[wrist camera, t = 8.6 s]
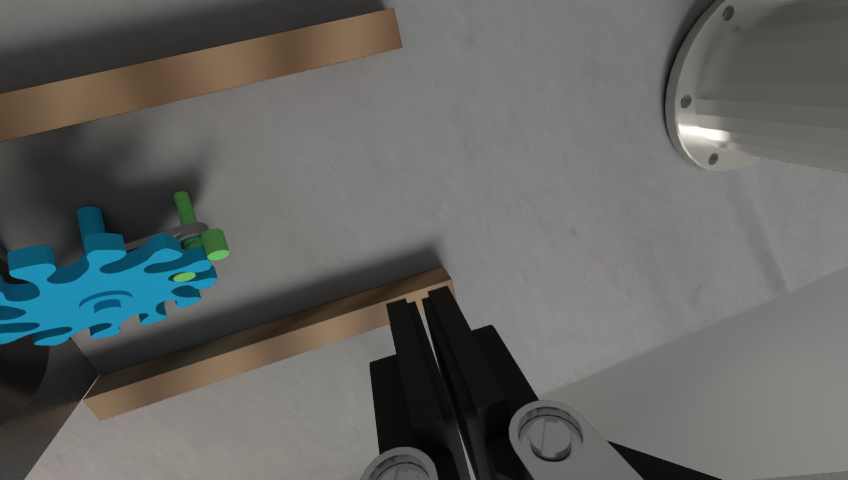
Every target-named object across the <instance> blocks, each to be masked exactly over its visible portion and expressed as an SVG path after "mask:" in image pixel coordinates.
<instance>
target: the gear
mask: <svg viewBox="0 0 848 480" xmlns="http://www.w3.org/2000/svg"><path fill="white" fill-rule="evenodd" d="M173 197H174V200H175V204H176V207H177V211H178V214H179V218H180V222H181V226H178V227H175V228H172V229H169V230H166V231H163V232H160V233H157V234H154V235H151V236H148V237H145V238H142V239H139V240H136V241H133V242H130V243H127V244H124V240H123V236H122V235H120V234H113V233H106V231H105V226H104V221H103V217H102V212H101V209H100V208H98V207H93V206H87V207H82V208H80V209H78V210H77V217H78V223H79V228H80V234H81V239H82V245H83V251H84V255H83V256H82V257H81V258H80V259H79V260H77V261H76V262H75V263H73V264H71V265H68V266H64V267H56V263H55V257H54V251H53V249H52V248H51V247H49V246H35V247H28V248H23V249H19V250H15V251H11V252H8V254H7V256H8V266H9V273H10V275H11V276H12V277H14V278H18V279H23V280H27V281H30V283H26V284H8V283H5V282H4V281H3V278H2V276H1V275H0V344H5V343H9V342H12V341H14V340H16V339H18V338H21V337H23V336H26V335H29V334H33V342H34V344H35V345H58V344H61V343H63V342H65V341H66V340H67V339H68V338H69V337H70V336H71V335H73V334H75V333H77V332H79V331H81V330H83V329H86V328H88V327H89V328H90V334H91V338H102V337H108V336H114V335H117V334H118V333H119V332H120V327H119V325H120V324H121V323H122V322H123V321H124V320H126V319H127V318H129V317H130V316H133V315H136V314H139V318H140V322H141V324H142V325H147V324H151V323H155V322H158V321H161V320H164V319H166V318H167V316H166V311H165V307H164V304H163V303H161V302H164V301H168V300H175V302H176V306H177V307H180V308H183V307H187V306H190V305H192V304H194V303H196V302H198V301H199V300H201V296H200V293H199V289H205V288H209V287H210V286H212V285H213V284H214V283H215V282H216V280H217V279H218V278H217V275H216V271H215V268H214V266H211V264H210V260H220V259H223V258H225V257H227V256H228V255H229V250H228V247H227V243H226V240H225V237H224V234H223V231H222V230H221V229H208V226H207V225H206V224H203V223H198V222H197V221H196V218H195V214H194V211H193V208H192V204H191V201H190V198H189V194H188V193H187V192H185V191H180V192H177V193H175V194H174V195H173ZM182 249H184V250H182Z"/></svg>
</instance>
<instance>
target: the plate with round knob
mask: <svg viewBox="0 0 848 480" xmlns="http://www.w3.org/2000/svg"><path fill="white" fill-rule="evenodd" d="M0 275H1V276H2V278H3V281H4V282H5V283H8V284H26V283H29V282H28V281H27V280H23V279H18V278H14V277H12V276H11V275H10V273H9V266H8V256H7V253H6V252H5V250H4V249H3V248H2V246H1V245H0ZM98 376H99V375H98V374H97V373H96V371H95V370H94V369H93V367H92V366H91V365H90V363H89V362H88V361H87V359H86V358H85V357H84V355H83V354H82V353H81V351H80V350H79V349H78V347H77V346H76V345H75V343H74V342H73V341H72V339H71V338H70V337H69V338H68V339H67V340H66V341H65V342H63V343H61V344H58V345H35V344H34V342H33V334H29V335H26V336H23V337H21V338H18V339H16V340H14V341H12V342H9V343H5V344H0V480H24V479H25V478H26V476H27V475H28V473H29V472H30V471H31V469H32V468H33V466H34V465H35V464H36V462H37V461H38V459H39V458H40V457H41V455H42V454H43V452H44V451H45V450H46V448H47V447H48V445H49V444H50V443H51V441H52V440H53V438H54V437H55V436H56V434H57V433H58V431H59V430H60V429H61V427H62V426H63V424H64V423H65V422H66V420H67V419H68V417H69V416H70V415H71V413H72V412H73V410H74V409H75V408H76V406H77V405H78V403H79V402H80V401H81V399H82V398H83V396H84V395H85V394H86V392H87V391H88V389H89V388H90V387H91V385H92V384H93V383H94V381H95V380H96V378H97V377H98Z"/></svg>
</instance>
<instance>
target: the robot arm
mask: <svg viewBox="0 0 848 480" xmlns="http://www.w3.org/2000/svg"><path fill="white" fill-rule="evenodd" d="M665 112H666V124H667V128H668V132H669V136H670V139H671V141H672V143H673V145H674V147H675V149H676V150H677V152H678V153H679V154H680V155H681V156H682V157H683V158H684V159H685V160H686V161H688V162H689V163H691V164H692V165H694V166H697V167H700V168H704V169H707V170H712V171H719V172H725V171H734V170H737V169H740V168H744V167H747V166H749V165H751V164H753V163H755V162H756V161H758V160H760V159H762V158H767V159H773V160H778V161H783V162H789V163H794V164H800V165H805V166H811V167H816V168H822V169H827V170H832V171H838V172H843V173H848V0H716V1H715V2H714V3H713V4H712V5H711V6H710V7H709V8H708V9H707V10H706V11H705V12H704V13H703V14H702V15H701V16H700V18H699V19H698V21H697V22H696V23H695V25H694V26H693V28H692V29H691V30H690V32H689V33H688V35H687V37H686V39H685V40H684V42H683V44H682V46H681V48H680V50H679V52H678V54H677V57H676V60H675V62H674V65H673V67H672V70H671V74H670V78H669V82H668V87H667V93H666V104H665ZM422 304H423V308H424V312H425V316H426V319H427V323H428V327H429V331H430V335H431V339H432V343H433V347H434V350H435V354H436V358H437V362H438V366H439V368H438V366H437V363H436V360H435V357H434V354H433V351H432V348H431V345H430V342H429V339H428V337H427V334H426V331H425V328H424V325H423V322H422V319H421V316H420V313H419V310H418V307H417V305H416V302H415V301H413V302H410V303H407V300H406V298H404V299H400V300H397V301H393V302H390V303H387V304H386V308H387V312H388V317H389V322H390V326H391V331H392V336H393V340H394V345H395V350H396V354H395V355H392V356H389V357H385V358H382V359H379V360H376V361H373V362H370V374H371V383H372V392H373V401H374V410H375V418H376V427H377V436H378V445H379V453H380V456H378V457H377V458H375V459H374V460H373V461H372V462H371V463H370V465H369V466H368V467H367V468H366V469H365V471H364V473H363V475H362V477H361V479H360V480H471V478H470V474H469V470H468V466H467V462H466V458H465V454H464V450H463V446H462V443H461V439H460V435H459V431H460V434H461V437H462V440H463V443H464V446H465V449H466V451H467V454H468V457H469V460H470V463H471V466H472V469H473V471H474V475H475V478H476V480H722V479H719V478H716V477H713V476H710V475H707V474H704V473H701V472H698V471H695V470H692V469H689V468H686V467H683V466H680V465H678V464H674V463H672V462H669V461H666V460H663V459H660V458H657V457H654V456H651V455H648V454H645V453H642V452H639V451H636V450H633V449H630V448H627V447H625V446H622V445H618V444H616V443H613V442H610V441H607V440H605V439H604V437H603V436H602V435H600V433H599V432H598V431H597V430H596V429H595V428H594V427H593V426H592V425H591V424H590V423H589V422H588V421H587V419H586V418H585V417H584V416H583V415H581V414H580V413H579V412H578V411H577V410H575V409H574V408H573V407H571V406H568V405H566V404H564V403H562V402H557V401H551V400H541V401H539V399H538V398H537V396H536V394H535V393H534V391H533V390H532V388H531V386H530V385H529V383H528V381H527V380H526V378H525V377H524V375H523V373H522V372H521V370H520V368H519V367H518V365H517V364H516V362H515V360H514V359H513V357H512V355H511V354H510V352H509V351H508V349H507V347H506V346H505V344H504V342H503V341H502V339H501V338H500V336H499V334H498V333H497V331H496V329H495V328H494V327H493V326H492V325H488V326H485V327H482V328H479V329H475V330H472V331H471V329H470V327H469V325H468V323H467V321H466V320H465V318H464V316H463V314H462V312H461V310H460V308H459V306H458V304H457V302H456V300H455V298H454V296H453V295H452V293H451V291H450V289H449V287H448V286H444V287H440V288H437V289H434V290H430V291H428V297H426V298H423V299H422ZM439 370H440V371H439ZM455 419H456V420H455ZM456 422H457V423H456ZM457 425H458V427H457ZM458 428H459V431H458ZM756 480H848V471H845V472H834V473H823V474H812V475H800V476H790V477H778V478H768V479H756Z"/></svg>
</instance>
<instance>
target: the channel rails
mask: <svg viewBox="0 0 848 480" xmlns="http://www.w3.org/2000/svg"><path fill="white" fill-rule="evenodd" d="M399 48H402V43H401V38H400V34H399V29H398V24H397V20H396V15H395V10H394V8H392V9H387V10H383V11H378V12H373V13H369V14H364V15H360V16H355V17H351V18H346V19H341V20H337V21H332V22H328V23H323V24H319V25H314V26H309V27H305V28H300V29H296V30H291V31H286V32H282V33H277V34H273V35H268V36H264V37H259V38H254V39H250V40H245V41H241V42H236V43H232V44H227V45H222V46H218V47H213V48H209V49H204V50H200V51H195V52H190V53H186V54H181V55H177V56H172V57H168V58H163V59H158V60H154V61H149V62H145V63H140V64H136V65H131V66H126V67H122V68H117V69H113V70H108V71H103V72H99V73H94V74H90V75H85V76H81V77H76V78H71V79H67V80H62V81H58V82H53V83H49V84H44V85H39V86H35V87H30V88H26V89H21V90H17V91H12V92H7V93H3V94H0V142H3V141H8V140H12V139H16V138H20V137H25V136H29V135H33V134H38V133H42V132H46V131H50V130H55V129H59V128H63V127H67V126H72V125H76V124H80V123H85V122H89V121H93V120H97V119H102V118H106V117H110V116H114V115H119V114H123V113H127V112H131V111H136V110H140V109H144V108H149V107H153V106H157V105H161V104H166V103H170V102H174V101H178V100H183V99H187V98H191V97H196V96H200V95H204V94H208V93H213V92H217V91H221V90H225V89H230V88H234V87H238V86H242V85H247V84H251V83H255V82H260V81H264V80H268V79H272V78H277V77H281V76H285V75H289V74H294V73H298V72H302V71H306V70H311V69H315V68H319V67H324V66H328V65H332V64H336V63H341V62H345V61H349V60H353V59H358V58H362V57H366V56H371V55H375V54H379V53H383V52H388V51H392V50H396V49H399ZM444 286H448V287H449V289H450V291H451V293H452V295H453V296H454V298H455V300H456V296H455V292H454V287H453V282H452V279H451V277H450V276H449V274H448V273H447V271H446V270H445V268H444V267H439V268H436V269H433V270H430V271H427V272H424V273H421V274H418V275H414V276H411V277H408V278H405V279H402V280H399V281H396V282H393V283H390V284H386V285H383V286H380V287H377V288H374V289H371V290H368V291H365V292H362V293H358V294H355V295H352V296H349V297H346V298H343V299H340V300H337V301H333V302H330V303H327V304H324V305H321V306H318V307H315V308H312V309H309V310H305V311H302V312H299V313H296V314H293V315H290V316H287V317H284V318H280V319H277V320H274V321H271V322H268V323H265V324H262V325H259V326H256V327H252V328H249V329H246V330H243V331H240V332H237V333H234V334H231V335H228V336H224V337H221V338H218V339H215V340H212V341H209V342H206V343H203V344H199V345H196V346H193V347H190V348H187V349H184V350H181V351H178V352H175V353H171V354H168V355H165V356H162V357H159V358H156V359H153V360H150V361H147V362H143V363H140V364H137V365H134V366H131V367H128V368H125V369H122V370H118V371H115V372H112V373H109V374H106V375H103V376H100V377H99V378H98V379H97V381H96V382H95V384H94V385H93V386H92V388H91V389H90V391H89V392H88V393H87V395H86V396H85V398H84V399H83V401H84V402H85V403H86V404H87V406H88V407H89V408H90V409H91V410H92V412H93V413H94V414H95V415H96V417H97V418H98V419H99V420H100V421H102V420H105V419H108V418H111V417H114V416H117V415H120V414H123V413H126V412H129V411H132V410H135V409H138V408H140V407H143V406H146V405H149V404H152V403H155V402H158V401H161V400H164V399H167V398H170V397H173V396H176V395H179V394H182V393H185V392H188V391H191V390H194V389H197V388H200V387H203V386H206V385H209V384H212V383H215V382H218V381H221V380H224V379H227V378H230V377H233V376H236V375H239V374H242V373H245V372H248V371H251V370H254V369H257V368H260V367H263V366H266V365H268V364H271V363H274V362H277V361H280V360H283V359H286V358H289V357H292V356H295V355H298V354H301V353H304V352H307V351H310V350H313V349H316V348H319V347H322V346H325V345H328V344H331V343H334V342H337V341H340V340H343V339H346V338H349V337H352V336H355V335H358V334H361V333H364V332H367V331H370V330H373V329H376V328H379V327H382V326H385V325H388V324H390V322H389V317H388V312H387V308H386V304H387V303H390V302H393V301H397V300H400V299H404V298H406V300H407V303H410V302H413V301H415V302H416V305H417V307H418V310H419V313H423V312H424V308H423V304H422V299H423V298H426V297H428V291H430V290H434V289H437V288H440V287H444Z"/></svg>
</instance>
